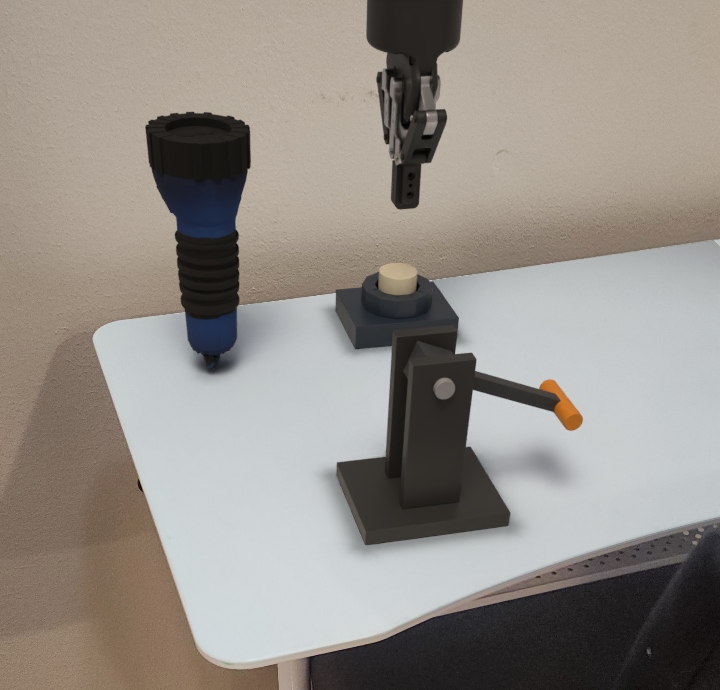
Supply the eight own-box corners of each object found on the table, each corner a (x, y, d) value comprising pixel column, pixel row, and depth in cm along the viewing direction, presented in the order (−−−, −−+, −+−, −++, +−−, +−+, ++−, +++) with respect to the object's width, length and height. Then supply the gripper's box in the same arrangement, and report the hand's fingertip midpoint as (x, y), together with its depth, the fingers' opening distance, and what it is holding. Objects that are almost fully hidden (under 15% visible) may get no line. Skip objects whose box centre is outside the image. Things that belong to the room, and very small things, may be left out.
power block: (431, 302, 100) (435, 263, 98) (457, 339, 95) (461, 299, 92) (335, 310, 98) (335, 271, 96) (355, 349, 93) (356, 308, 90)
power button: (410, 279, 96) (411, 261, 94) (421, 295, 93) (422, 277, 92) (373, 282, 95) (374, 264, 94) (383, 298, 92) (384, 280, 91)
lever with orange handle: (547, 403, 76) (563, 375, 75) (573, 438, 72) (590, 410, 71) (397, 361, 70) (410, 330, 69) (417, 397, 67) (432, 365, 65)
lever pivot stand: (469, 458, 80) (488, 307, 71) (508, 525, 74) (535, 369, 65) (336, 474, 78) (339, 320, 69) (365, 545, 72) (372, 385, 63)
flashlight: (249, 339, 94) (238, 106, 80) (269, 380, 88) (261, 139, 74) (163, 349, 92) (137, 112, 78) (178, 392, 86) (153, 146, 72)
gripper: (491, -7, 73) (468, 231, 85) (436, -43, 82) (423, 177, 94) (392, -4, 71) (383, 238, 83) (348, -41, 81) (345, 182, 93)
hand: (404, 205), depth 89 cm, fingers closed
